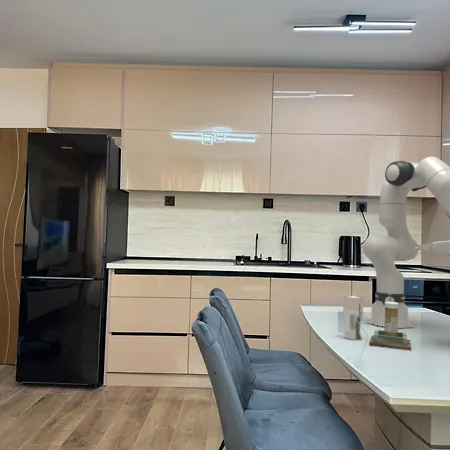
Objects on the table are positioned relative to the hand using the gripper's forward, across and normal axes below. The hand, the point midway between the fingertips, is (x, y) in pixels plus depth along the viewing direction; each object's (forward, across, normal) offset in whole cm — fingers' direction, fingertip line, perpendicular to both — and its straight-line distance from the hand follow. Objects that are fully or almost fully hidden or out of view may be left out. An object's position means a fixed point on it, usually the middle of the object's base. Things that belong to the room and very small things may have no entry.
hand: (416, 247), depth 152 cm
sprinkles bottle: (+8, +8, +33) cm, 35 cm away
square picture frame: (+8, +8, +34) cm, 36 cm away
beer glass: (+21, +5, +34) cm, 40 cm away
